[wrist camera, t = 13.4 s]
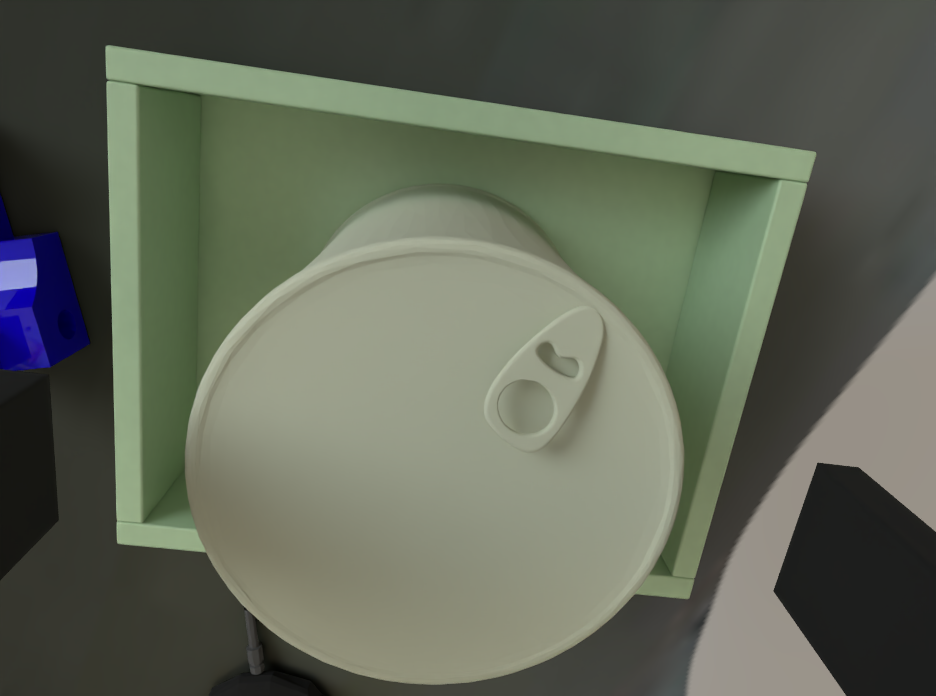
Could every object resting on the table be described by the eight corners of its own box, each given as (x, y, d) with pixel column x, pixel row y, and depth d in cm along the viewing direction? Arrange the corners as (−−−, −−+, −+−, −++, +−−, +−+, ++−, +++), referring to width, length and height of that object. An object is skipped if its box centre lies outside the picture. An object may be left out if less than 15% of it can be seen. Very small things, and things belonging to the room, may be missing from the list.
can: (627, 298, 23) (808, 461, 12) (461, 485, 25) (475, 780, 14) (416, 122, 21) (383, 108, 10) (254, 340, 23) (67, 544, 12)
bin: (185, 65, 21) (103, 44, 16) (734, 147, 22) (818, 152, 17) (181, 462, 25) (116, 544, 20) (643, 511, 27) (689, 600, 22)
